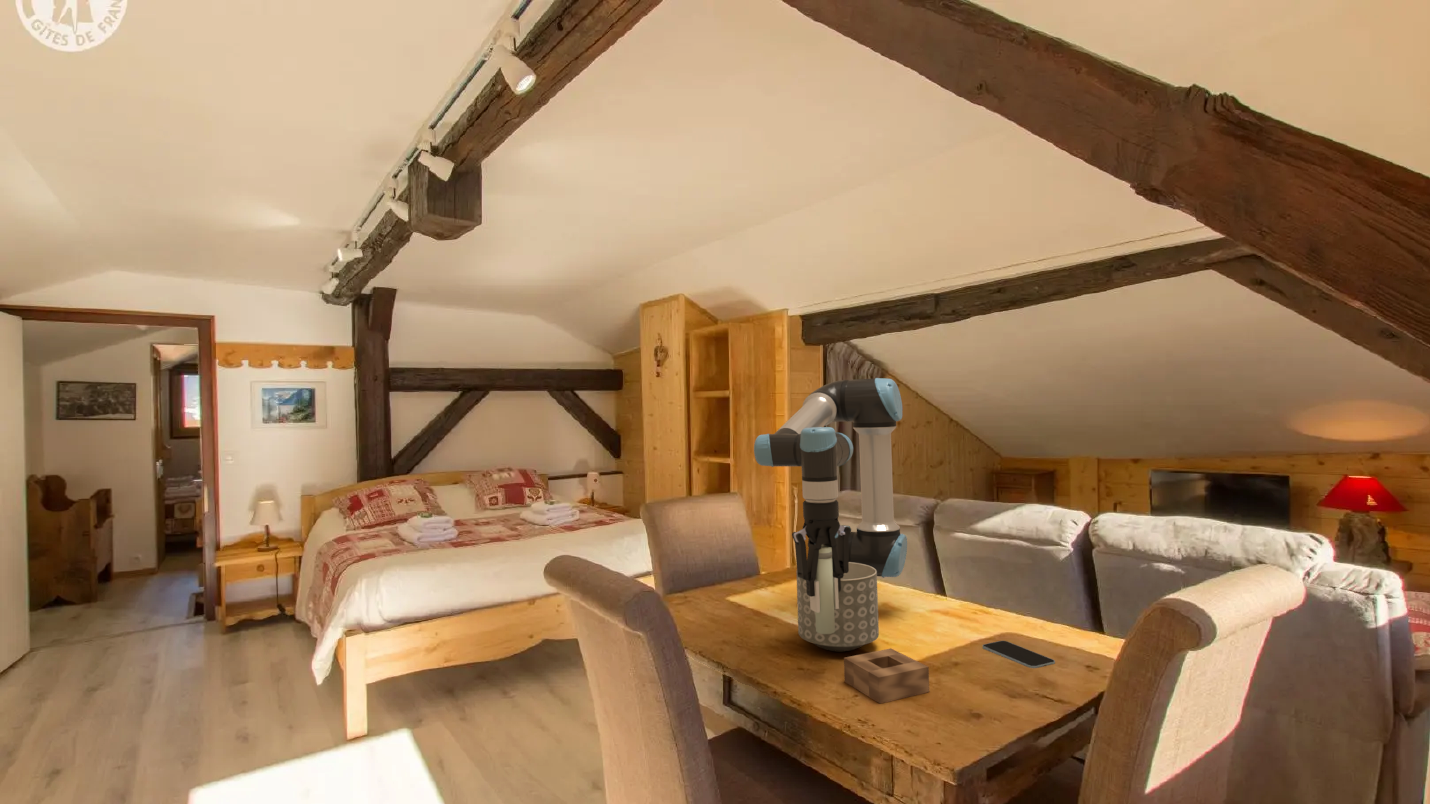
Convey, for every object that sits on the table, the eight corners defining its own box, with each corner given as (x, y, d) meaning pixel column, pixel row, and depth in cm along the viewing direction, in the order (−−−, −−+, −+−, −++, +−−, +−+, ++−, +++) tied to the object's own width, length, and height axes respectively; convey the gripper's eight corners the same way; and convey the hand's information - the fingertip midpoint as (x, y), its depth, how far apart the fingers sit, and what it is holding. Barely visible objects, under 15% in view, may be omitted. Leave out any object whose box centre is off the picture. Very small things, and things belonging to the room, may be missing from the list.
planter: (830, 666, 154) (828, 584, 154) (783, 641, 170) (781, 567, 171) (896, 650, 162) (893, 572, 162) (845, 628, 179) (843, 558, 179)
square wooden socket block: (891, 671, 149) (890, 648, 149) (929, 691, 138) (928, 666, 138) (844, 681, 145) (843, 657, 145) (879, 703, 134) (878, 677, 134)
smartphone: (1032, 666, 149) (980, 645, 162) (1032, 671, 149) (980, 648, 162) (1057, 661, 151) (1004, 639, 165) (1057, 665, 151) (1004, 643, 165)
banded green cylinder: (828, 626, 151) (825, 544, 151) (838, 632, 147) (835, 547, 147) (812, 629, 149) (808, 546, 149) (822, 635, 145) (819, 549, 145)
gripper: (844, 493, 155) (848, 598, 155) (776, 501, 148) (781, 610, 148) (864, 498, 148) (868, 607, 148) (794, 506, 141) (798, 620, 141)
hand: (824, 608), depth 148 cm, fingers closed on banded green cylinder, 4 cm apart
